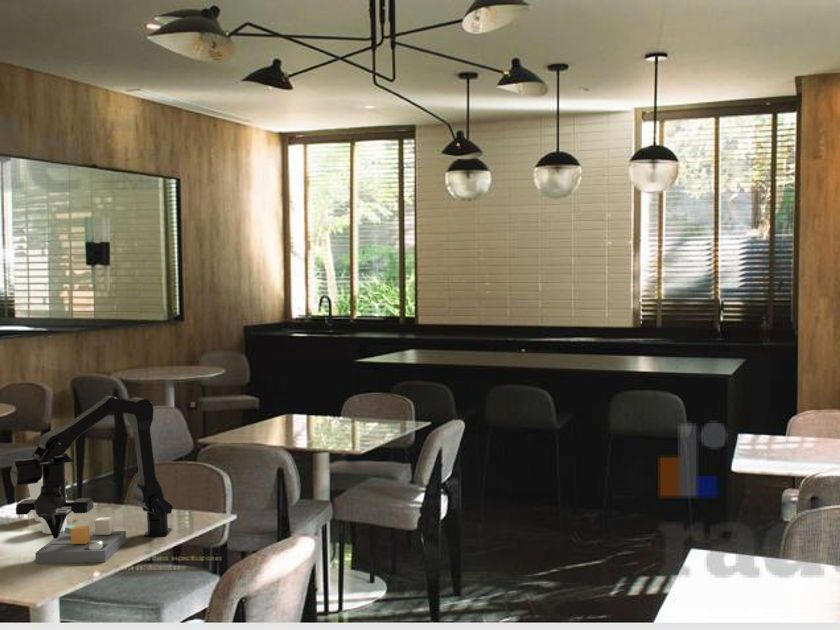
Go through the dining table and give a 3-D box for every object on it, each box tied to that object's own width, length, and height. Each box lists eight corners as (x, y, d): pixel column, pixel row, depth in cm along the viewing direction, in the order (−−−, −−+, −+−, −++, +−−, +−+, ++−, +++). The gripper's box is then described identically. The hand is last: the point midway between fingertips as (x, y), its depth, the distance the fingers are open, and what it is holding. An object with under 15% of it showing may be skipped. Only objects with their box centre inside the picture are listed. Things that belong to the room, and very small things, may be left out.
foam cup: (29, 516, 287) (27, 475, 286) (61, 513, 290) (59, 472, 289) (29, 524, 278) (27, 481, 277) (62, 520, 281) (60, 478, 281)
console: (61, 543, 257) (61, 531, 257) (126, 541, 258) (125, 529, 257) (36, 564, 239) (35, 550, 239) (105, 562, 240) (104, 548, 239)
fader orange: (75, 540, 248) (74, 526, 247) (90, 540, 248) (89, 525, 248) (71, 544, 245) (70, 529, 244) (86, 543, 245) (85, 528, 245)
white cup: (58, 535, 265) (56, 501, 265) (34, 534, 267) (32, 500, 267) (74, 527, 273) (72, 494, 273) (50, 526, 275) (48, 493, 274)
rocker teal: (68, 529, 255) (69, 524, 254) (89, 533, 255) (90, 528, 255) (64, 532, 252) (65, 527, 252) (85, 536, 252) (86, 531, 252)
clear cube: (91, 555, 245) (91, 540, 245) (105, 554, 245) (104, 539, 245) (87, 559, 241) (86, 544, 241) (100, 558, 241) (100, 543, 241)
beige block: (98, 531, 256) (98, 517, 256) (113, 531, 256) (112, 517, 256) (95, 534, 253) (94, 520, 253) (109, 534, 253) (109, 520, 253)
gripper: (5, 488, 237) (8, 547, 238) (78, 486, 237) (80, 546, 238) (23, 478, 248) (25, 535, 249) (93, 477, 248) (94, 534, 249)
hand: (56, 538), depth 246 cm, fingers closed
